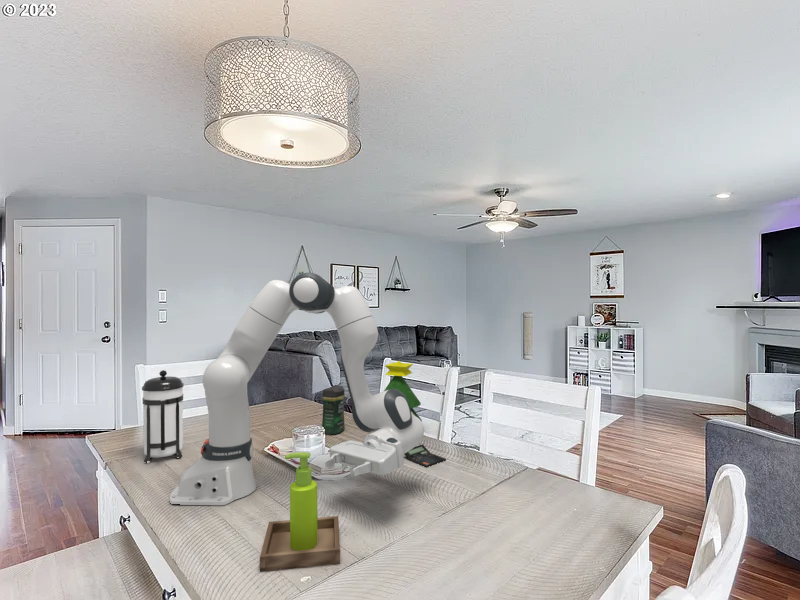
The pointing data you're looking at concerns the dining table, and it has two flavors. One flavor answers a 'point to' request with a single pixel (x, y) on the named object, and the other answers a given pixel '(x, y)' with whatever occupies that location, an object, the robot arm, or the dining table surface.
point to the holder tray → (284, 557)
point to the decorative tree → (402, 383)
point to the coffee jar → (333, 410)
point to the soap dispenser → (303, 506)
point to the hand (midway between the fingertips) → (339, 468)
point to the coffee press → (163, 416)
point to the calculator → (423, 456)
